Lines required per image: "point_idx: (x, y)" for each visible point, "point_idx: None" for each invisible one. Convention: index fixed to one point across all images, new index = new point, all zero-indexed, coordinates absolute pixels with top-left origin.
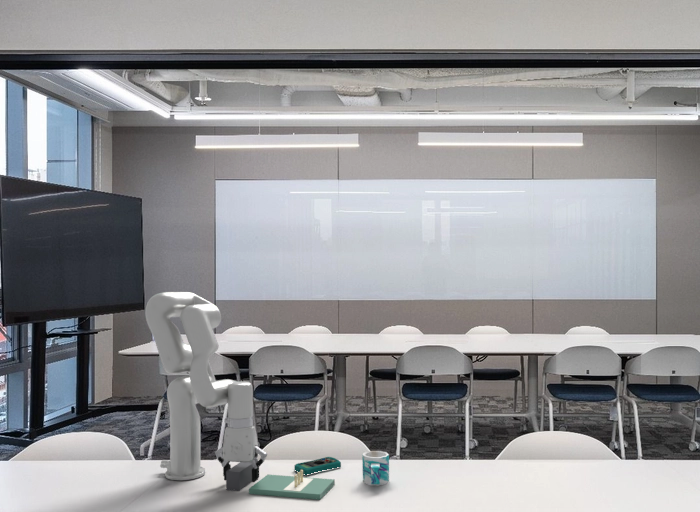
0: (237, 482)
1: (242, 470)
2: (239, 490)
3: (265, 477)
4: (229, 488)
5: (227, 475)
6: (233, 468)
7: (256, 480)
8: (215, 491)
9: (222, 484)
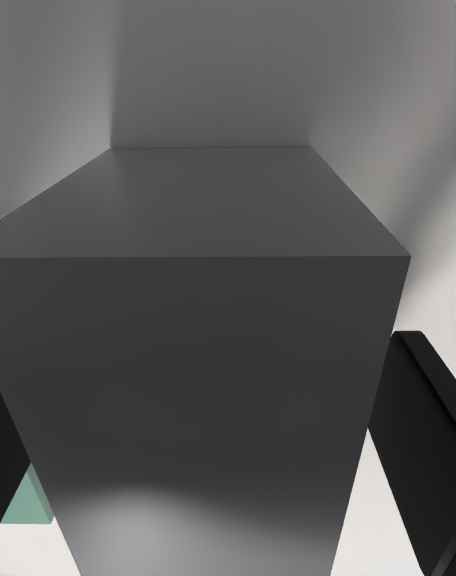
0: (105, 173)
1: (7, 400)
2: (111, 151)
3: None
4: (262, 153)
5: (332, 210)
6: (286, 460)
7: None
8: (451, 33)
9: (422, 313)
